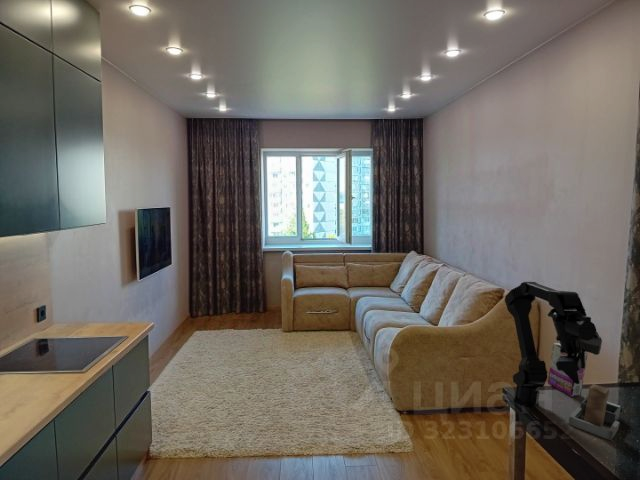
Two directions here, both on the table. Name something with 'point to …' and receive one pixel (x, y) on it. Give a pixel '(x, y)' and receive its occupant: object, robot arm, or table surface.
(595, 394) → the walnut block
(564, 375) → the candy bar box
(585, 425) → the grey shallow tray
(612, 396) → the table surface
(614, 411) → the trap bin
